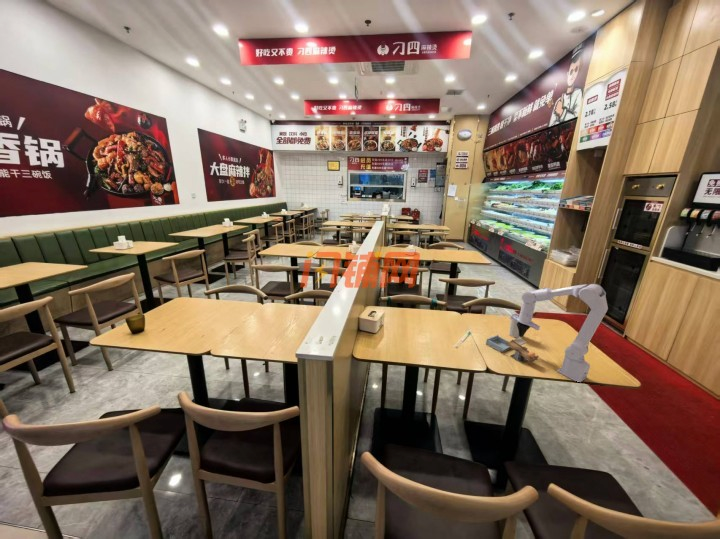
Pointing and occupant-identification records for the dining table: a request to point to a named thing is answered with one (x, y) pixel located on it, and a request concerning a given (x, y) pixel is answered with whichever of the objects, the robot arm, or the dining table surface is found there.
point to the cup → (514, 327)
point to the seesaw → (521, 348)
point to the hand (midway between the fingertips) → (521, 336)
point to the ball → (531, 354)
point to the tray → (498, 343)
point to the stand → (518, 356)
